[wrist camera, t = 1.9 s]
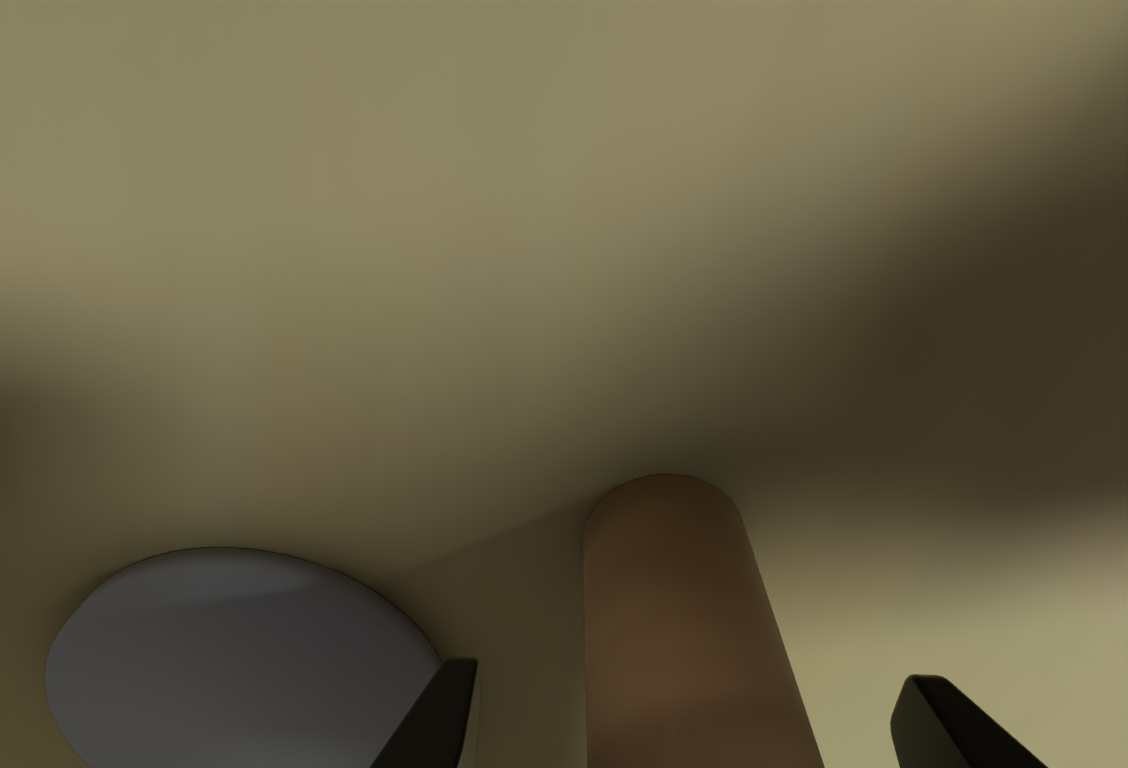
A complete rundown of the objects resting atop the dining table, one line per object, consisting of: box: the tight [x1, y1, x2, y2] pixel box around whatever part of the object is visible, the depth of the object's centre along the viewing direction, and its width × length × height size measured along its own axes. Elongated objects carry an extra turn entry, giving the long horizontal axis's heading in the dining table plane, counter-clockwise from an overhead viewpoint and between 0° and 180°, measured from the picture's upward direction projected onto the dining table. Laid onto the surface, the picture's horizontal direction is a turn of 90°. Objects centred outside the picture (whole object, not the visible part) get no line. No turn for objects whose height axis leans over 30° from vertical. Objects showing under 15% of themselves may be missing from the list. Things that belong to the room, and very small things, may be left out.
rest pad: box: [44, 548, 442, 768], centre depth 13 cm, size 7×7×1 cm
